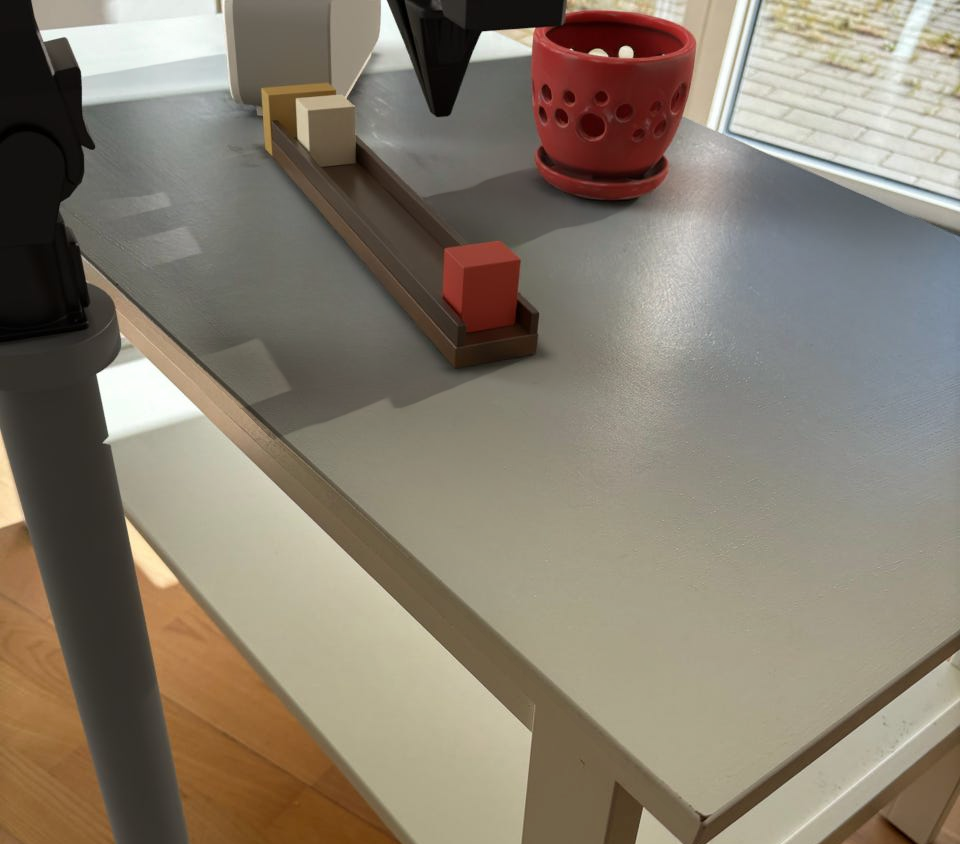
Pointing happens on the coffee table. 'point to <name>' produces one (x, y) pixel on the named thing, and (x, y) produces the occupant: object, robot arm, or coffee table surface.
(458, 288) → the block
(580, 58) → the flower pot
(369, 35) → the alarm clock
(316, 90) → the left stop
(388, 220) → the rail
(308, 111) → the block
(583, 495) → the coffee table surface
